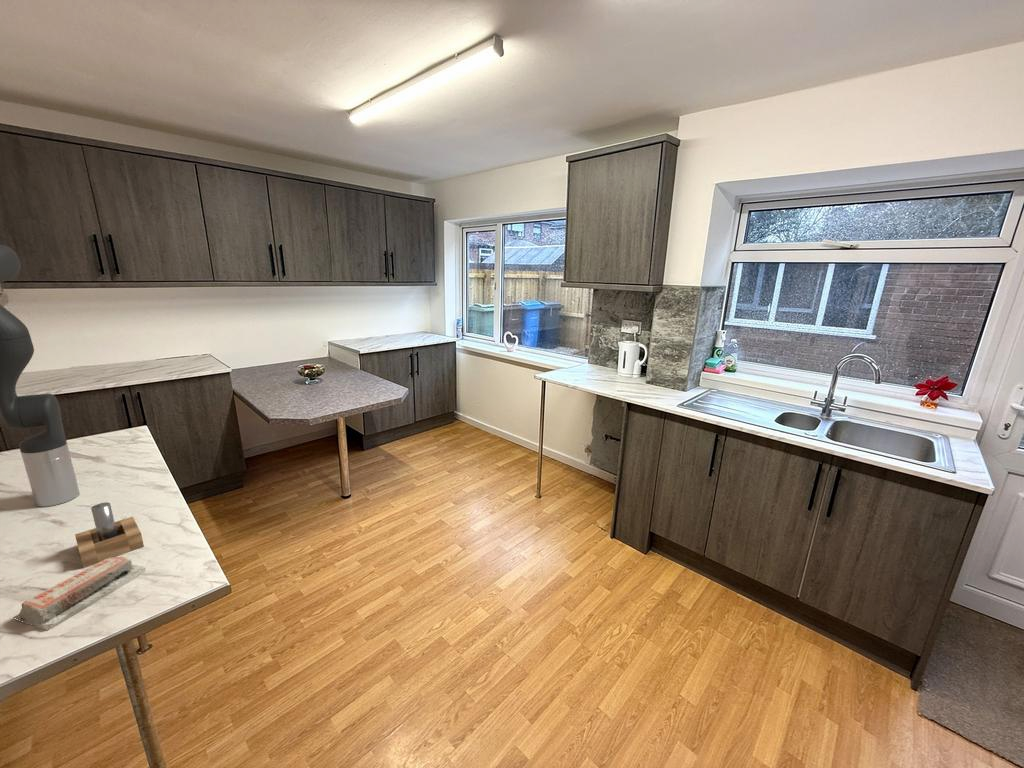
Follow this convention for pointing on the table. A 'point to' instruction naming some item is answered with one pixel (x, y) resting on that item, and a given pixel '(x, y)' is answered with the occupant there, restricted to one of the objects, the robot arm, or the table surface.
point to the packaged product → (78, 592)
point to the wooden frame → (109, 542)
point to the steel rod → (104, 521)
